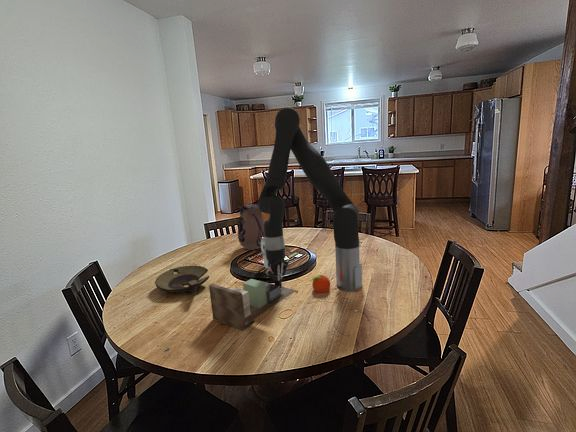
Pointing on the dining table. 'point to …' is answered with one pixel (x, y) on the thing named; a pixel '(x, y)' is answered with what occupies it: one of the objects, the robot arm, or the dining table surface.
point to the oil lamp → (181, 279)
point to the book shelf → (238, 306)
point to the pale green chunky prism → (256, 292)
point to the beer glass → (264, 252)
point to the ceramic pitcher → (251, 227)
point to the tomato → (321, 283)
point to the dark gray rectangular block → (272, 292)
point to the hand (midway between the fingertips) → (278, 288)
